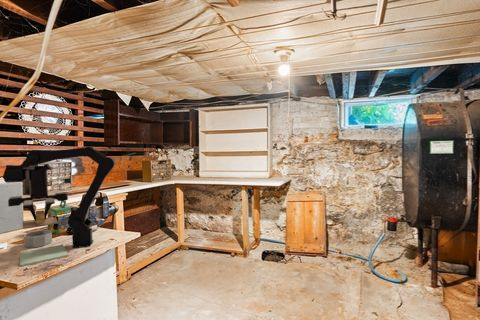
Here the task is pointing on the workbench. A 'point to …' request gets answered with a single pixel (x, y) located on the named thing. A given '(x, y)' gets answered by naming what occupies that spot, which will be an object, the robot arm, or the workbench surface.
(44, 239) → the bowl
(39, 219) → the cover
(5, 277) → the workbench surface
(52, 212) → the green lantern
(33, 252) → the mat
